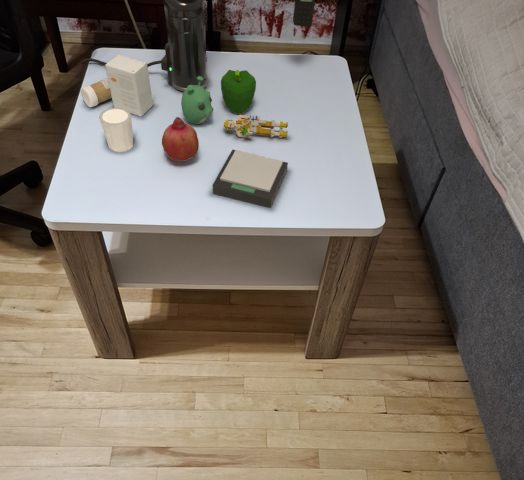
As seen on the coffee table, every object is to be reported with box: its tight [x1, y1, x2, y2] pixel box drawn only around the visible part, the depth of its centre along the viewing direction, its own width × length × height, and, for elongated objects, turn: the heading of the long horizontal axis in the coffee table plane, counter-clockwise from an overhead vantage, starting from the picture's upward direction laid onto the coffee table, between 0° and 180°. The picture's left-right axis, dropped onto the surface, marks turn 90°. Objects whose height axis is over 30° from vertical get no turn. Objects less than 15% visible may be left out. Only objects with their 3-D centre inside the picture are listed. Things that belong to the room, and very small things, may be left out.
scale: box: [212, 149, 289, 209], centre depth 109 cm, size 13×13×3 cm
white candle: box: [98, 106, 134, 153], centre depth 112 cm, size 7×7×7 cm
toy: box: [223, 114, 289, 139], centre depth 118 cm, size 5×5×15 cm
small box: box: [104, 54, 154, 118], centre depth 119 cm, size 8×6×10 cm
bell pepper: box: [220, 69, 257, 115], centre depth 122 cm, size 8×8×10 cm
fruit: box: [161, 116, 200, 162], centre depth 109 cm, size 8×8×10 cm
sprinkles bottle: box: [80, 77, 112, 108], centre depth 123 cm, size 5×5×13 cm
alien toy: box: [180, 76, 214, 125], centre depth 118 cm, size 7×8×10 cm
